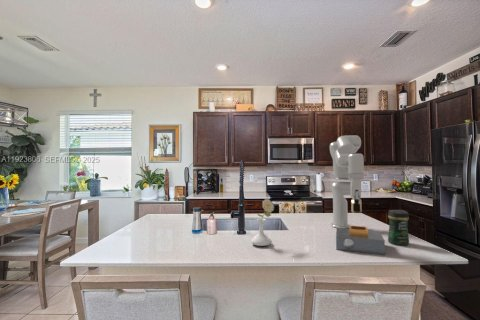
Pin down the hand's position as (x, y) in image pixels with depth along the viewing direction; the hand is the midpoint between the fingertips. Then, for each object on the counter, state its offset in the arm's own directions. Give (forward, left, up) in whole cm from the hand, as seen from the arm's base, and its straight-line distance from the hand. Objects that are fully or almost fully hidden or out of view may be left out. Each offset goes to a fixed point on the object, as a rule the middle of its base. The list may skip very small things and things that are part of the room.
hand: (356, 210), depth 136 cm
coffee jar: (-14, +22, -20) cm, 32 cm away
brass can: (0, 0, -1) cm, 1 cm away
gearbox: (0, +1, -19) cm, 19 cm away
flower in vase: (+14, -48, -20) cm, 54 cm away
